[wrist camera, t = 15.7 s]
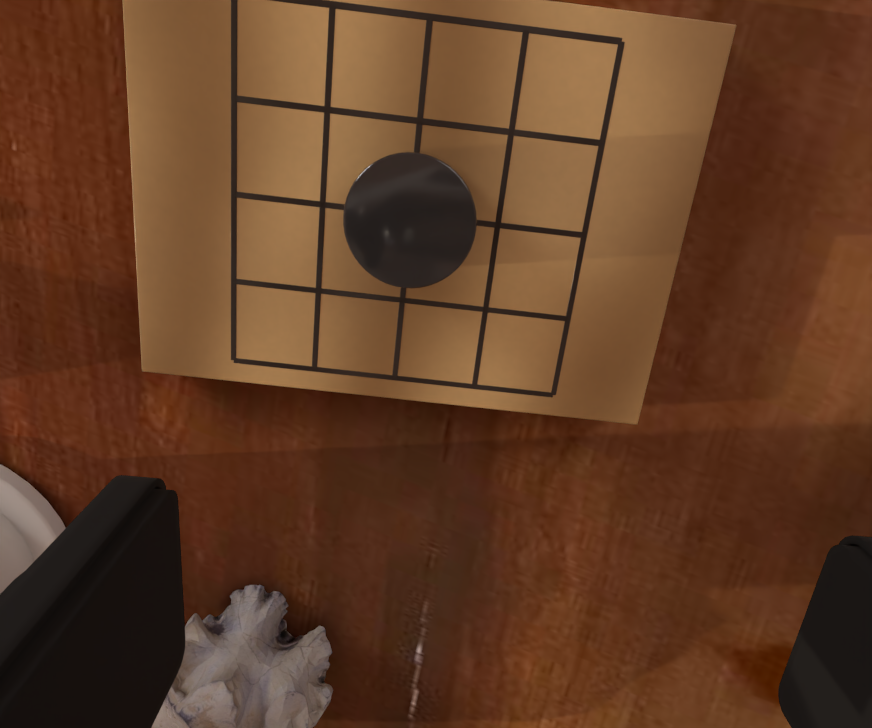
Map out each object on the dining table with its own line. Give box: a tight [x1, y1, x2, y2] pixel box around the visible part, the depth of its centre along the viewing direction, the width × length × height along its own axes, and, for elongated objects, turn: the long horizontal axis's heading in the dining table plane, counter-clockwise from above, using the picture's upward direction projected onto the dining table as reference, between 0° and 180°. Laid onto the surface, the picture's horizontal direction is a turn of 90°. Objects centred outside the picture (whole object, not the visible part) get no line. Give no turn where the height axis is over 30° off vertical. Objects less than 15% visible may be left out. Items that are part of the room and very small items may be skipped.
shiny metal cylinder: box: [343, 150, 477, 288], centre depth 23 cm, size 5×5×4 cm
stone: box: [151, 585, 333, 728], centre depth 32 cm, size 8×12×7 cm, turn 150°
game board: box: [123, 0, 736, 425], centre depth 26 cm, size 22×16×2 cm
